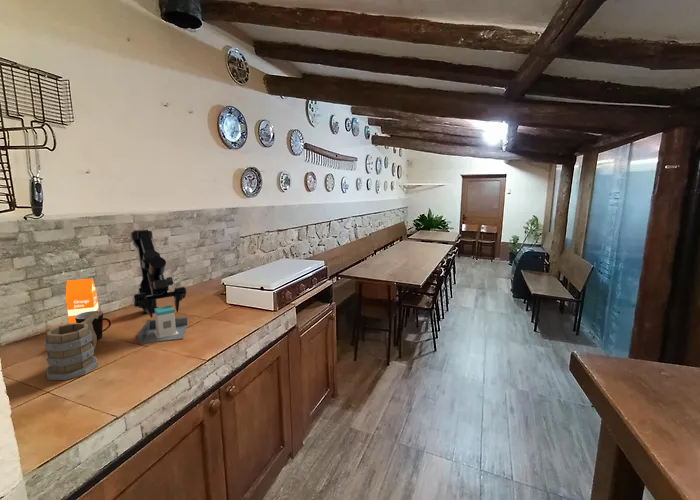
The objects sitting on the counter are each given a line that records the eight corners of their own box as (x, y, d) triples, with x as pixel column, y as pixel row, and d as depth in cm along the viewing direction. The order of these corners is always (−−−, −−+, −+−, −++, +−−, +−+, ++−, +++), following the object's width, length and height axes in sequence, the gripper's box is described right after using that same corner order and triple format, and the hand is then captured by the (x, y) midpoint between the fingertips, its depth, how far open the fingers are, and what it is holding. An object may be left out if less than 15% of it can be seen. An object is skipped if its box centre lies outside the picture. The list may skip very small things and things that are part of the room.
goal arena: (148, 328, 145) (147, 320, 144) (187, 324, 150) (187, 316, 149) (138, 343, 131) (137, 335, 130) (182, 339, 135) (182, 330, 135)
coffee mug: (73, 341, 132) (70, 316, 130) (98, 333, 140) (95, 309, 138) (89, 348, 127) (86, 322, 125) (114, 339, 134) (112, 314, 133)
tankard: (76, 381, 105) (70, 334, 103) (35, 379, 106) (28, 333, 103) (120, 350, 125) (116, 311, 123) (86, 349, 125) (81, 310, 123)
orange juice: (75, 323, 149) (69, 278, 145) (100, 320, 153) (95, 276, 149) (69, 330, 142) (63, 282, 138) (96, 327, 146) (90, 280, 142)
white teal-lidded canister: (156, 332, 140) (154, 308, 138) (172, 328, 144) (170, 305, 142) (159, 337, 136) (157, 312, 134) (176, 333, 139) (174, 309, 138)
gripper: (131, 274, 133) (139, 309, 127) (183, 268, 145) (193, 300, 139) (130, 289, 141) (137, 323, 134) (180, 282, 152) (188, 313, 146)
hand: (165, 314), depth 138 cm, fingers open, 9 cm apart
